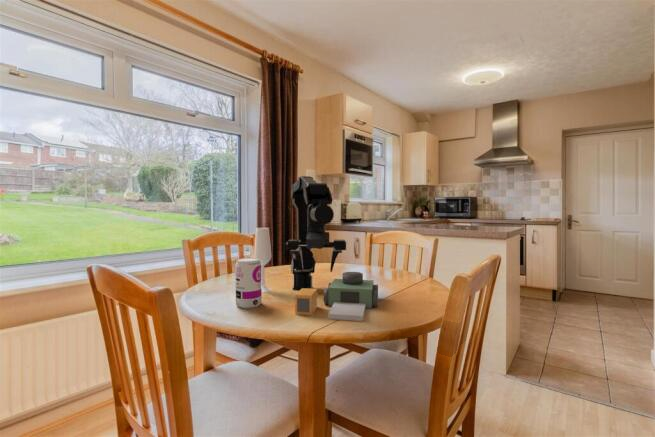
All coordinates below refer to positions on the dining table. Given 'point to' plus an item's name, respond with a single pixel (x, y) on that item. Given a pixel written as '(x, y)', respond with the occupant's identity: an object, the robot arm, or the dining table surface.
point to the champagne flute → (263, 252)
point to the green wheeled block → (350, 296)
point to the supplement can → (248, 282)
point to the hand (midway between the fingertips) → (316, 271)
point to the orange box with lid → (306, 301)
